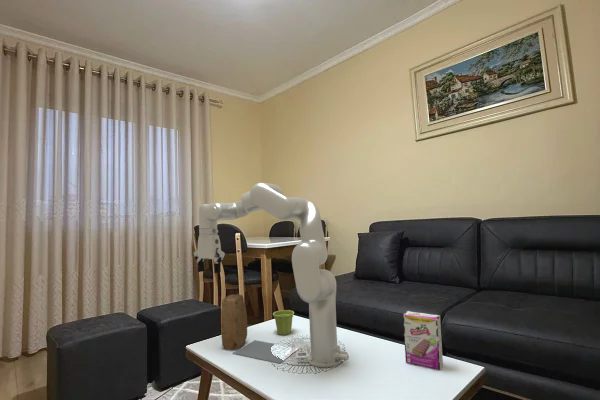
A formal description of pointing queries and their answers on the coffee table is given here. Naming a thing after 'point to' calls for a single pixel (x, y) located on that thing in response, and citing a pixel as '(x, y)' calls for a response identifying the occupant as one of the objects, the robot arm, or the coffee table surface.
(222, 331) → the block
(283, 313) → the plant pot
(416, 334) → the candy bar box
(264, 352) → the mat
